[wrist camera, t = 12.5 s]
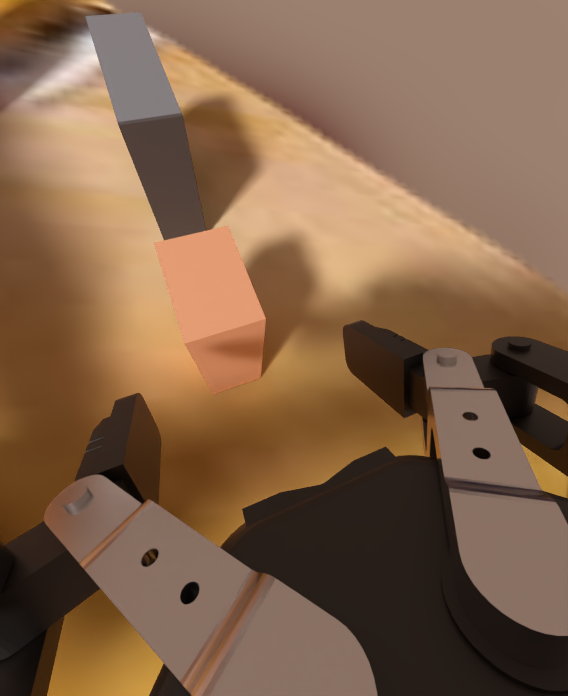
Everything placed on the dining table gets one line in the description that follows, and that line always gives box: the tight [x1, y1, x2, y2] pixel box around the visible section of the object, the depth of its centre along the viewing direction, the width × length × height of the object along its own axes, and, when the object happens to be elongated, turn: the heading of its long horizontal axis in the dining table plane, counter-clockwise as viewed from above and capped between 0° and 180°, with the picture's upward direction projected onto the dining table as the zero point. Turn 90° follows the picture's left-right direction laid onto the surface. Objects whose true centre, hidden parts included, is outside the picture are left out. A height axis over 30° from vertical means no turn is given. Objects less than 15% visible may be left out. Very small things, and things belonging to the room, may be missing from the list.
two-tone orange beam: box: [154, 226, 266, 395], centre depth 20 cm, size 6×4×11 cm
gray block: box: [86, 12, 206, 240], centre depth 26 cm, size 12×4×11 cm, turn 22°
